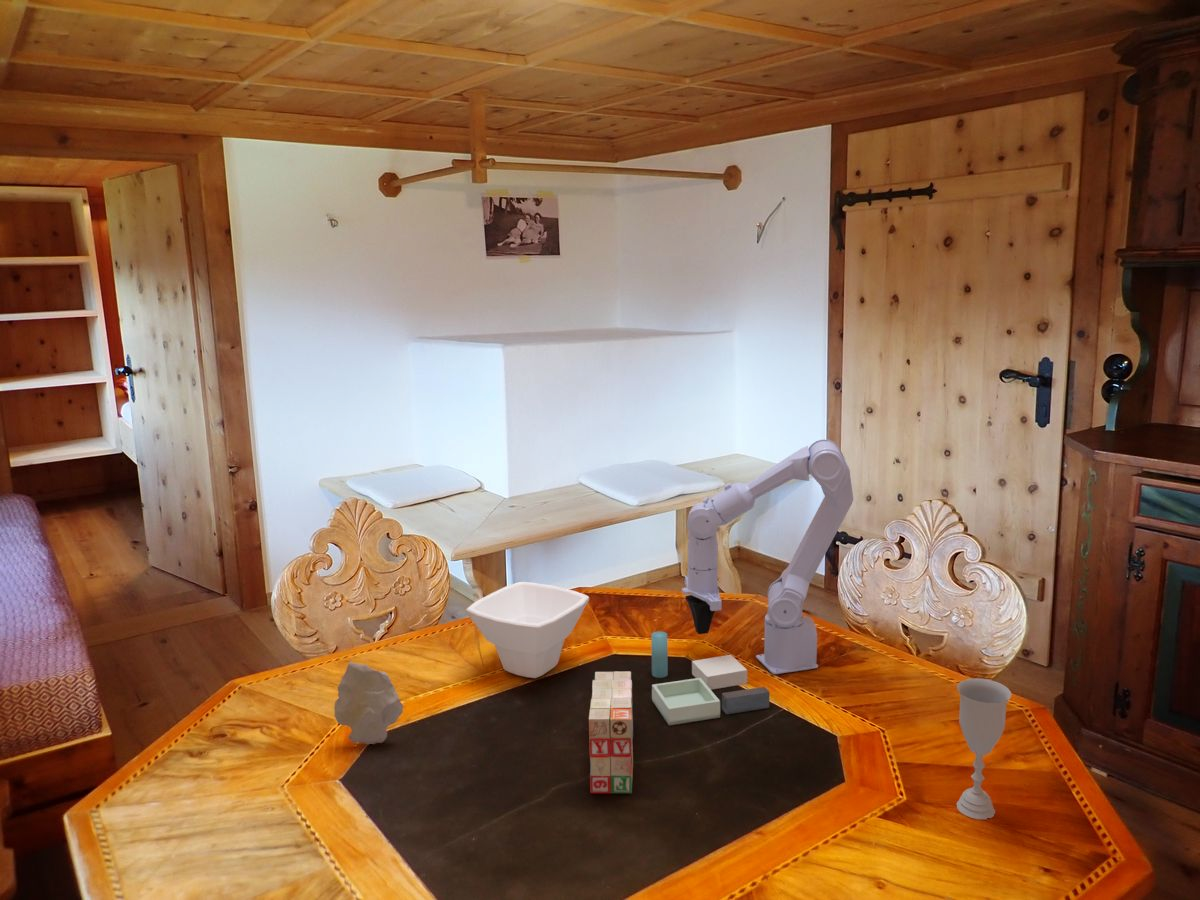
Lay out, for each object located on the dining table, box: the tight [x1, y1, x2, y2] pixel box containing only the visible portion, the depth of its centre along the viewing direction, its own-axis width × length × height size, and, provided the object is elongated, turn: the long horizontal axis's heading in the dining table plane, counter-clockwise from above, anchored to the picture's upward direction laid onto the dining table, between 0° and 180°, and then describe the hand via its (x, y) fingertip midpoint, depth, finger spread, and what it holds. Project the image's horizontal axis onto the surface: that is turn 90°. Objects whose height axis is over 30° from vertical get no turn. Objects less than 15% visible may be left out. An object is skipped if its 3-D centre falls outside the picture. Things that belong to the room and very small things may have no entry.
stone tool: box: [333, 661, 404, 746], centre depth 144 cm, size 11×4×15 cm, turn 95°
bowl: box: [465, 581, 590, 679], centre depth 170 cm, size 19×19×14 cm
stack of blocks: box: [588, 670, 634, 794], centre depth 140 cm, size 21×6×12 cm, turn 178°
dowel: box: [650, 630, 669, 679], centre depth 167 cm, size 3×3×8 cm
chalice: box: [956, 677, 1012, 820], centre depth 123 cm, size 7×7×18 cm
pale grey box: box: [691, 654, 748, 691], centre depth 166 cm, size 8×7×3 cm
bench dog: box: [721, 686, 771, 715], centre depth 154 cm, size 8×2×3 cm, turn 105°
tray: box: [651, 677, 721, 726], centre depth 155 cm, size 9×9×3 cm
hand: (702, 632), depth 173 cm, fingers closed
